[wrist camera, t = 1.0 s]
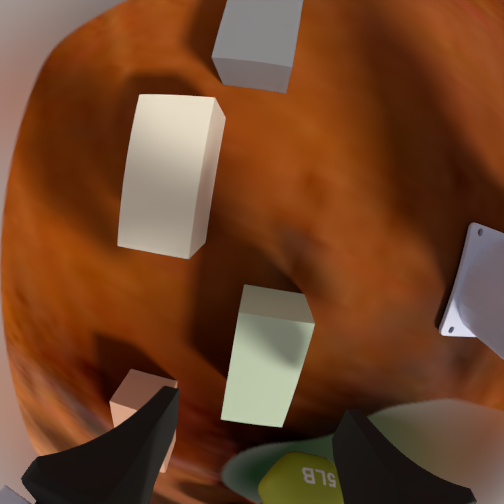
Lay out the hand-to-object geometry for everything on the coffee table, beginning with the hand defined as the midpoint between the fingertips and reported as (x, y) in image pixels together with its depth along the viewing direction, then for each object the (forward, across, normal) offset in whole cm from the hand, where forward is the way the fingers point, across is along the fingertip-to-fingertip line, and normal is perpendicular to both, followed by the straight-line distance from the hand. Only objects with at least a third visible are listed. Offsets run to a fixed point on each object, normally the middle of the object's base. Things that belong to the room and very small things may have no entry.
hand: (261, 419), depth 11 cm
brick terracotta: (+7, +7, +8) cm, 13 cm away
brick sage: (+7, 0, 0) cm, 7 cm away
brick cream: (+7, +6, -9) cm, 13 cm away
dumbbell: (+7, -4, +18) cm, 20 cm away
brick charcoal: (+7, +3, -18) cm, 20 cm away
